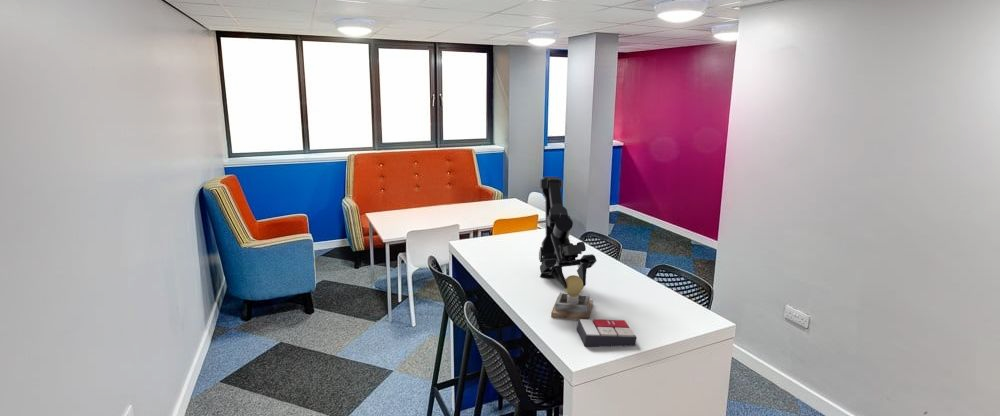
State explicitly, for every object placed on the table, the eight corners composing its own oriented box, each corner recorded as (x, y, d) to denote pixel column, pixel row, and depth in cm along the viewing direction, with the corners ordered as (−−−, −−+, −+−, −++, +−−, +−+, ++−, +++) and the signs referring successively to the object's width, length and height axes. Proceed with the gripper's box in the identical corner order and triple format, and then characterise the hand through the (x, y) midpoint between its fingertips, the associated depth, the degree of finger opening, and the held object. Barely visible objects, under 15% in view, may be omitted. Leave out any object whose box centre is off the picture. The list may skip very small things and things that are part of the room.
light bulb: (583, 301, 174) (585, 274, 172) (580, 309, 168) (581, 280, 166) (565, 299, 176) (566, 271, 174) (561, 306, 170) (562, 278, 168)
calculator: (637, 335, 148) (586, 333, 147) (635, 349, 149) (584, 347, 148) (625, 318, 159) (577, 317, 158) (624, 331, 160) (576, 330, 159)
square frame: (551, 316, 167) (551, 305, 166) (557, 300, 180) (558, 289, 179) (588, 321, 164) (589, 309, 163) (592, 304, 177) (593, 293, 176)
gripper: (544, 235, 167) (557, 279, 160) (595, 231, 173) (610, 273, 166) (534, 251, 176) (546, 294, 169) (583, 246, 182) (596, 287, 175)
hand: (575, 287), depth 169 cm, fingers closed on light bulb, 6 cm apart
